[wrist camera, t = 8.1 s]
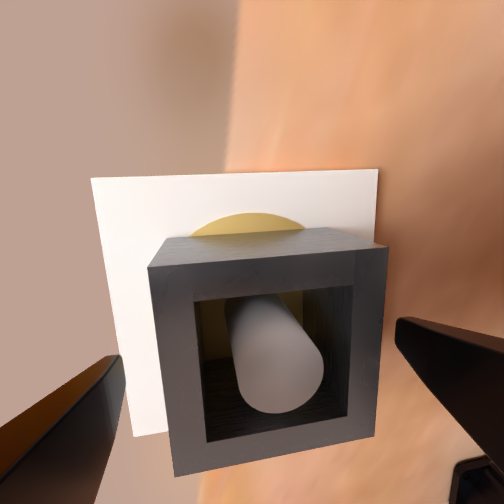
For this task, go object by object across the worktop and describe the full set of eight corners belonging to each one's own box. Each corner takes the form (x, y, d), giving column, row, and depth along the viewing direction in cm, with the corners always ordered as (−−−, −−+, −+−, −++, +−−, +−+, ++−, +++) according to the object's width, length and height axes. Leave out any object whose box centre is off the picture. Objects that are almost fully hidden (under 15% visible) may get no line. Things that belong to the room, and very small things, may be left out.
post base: (353, 382, 15) (436, 488, 10) (138, 418, 13) (97, 572, 8) (364, 170, 12) (485, 157, 7) (100, 178, 11) (2, 170, 5)
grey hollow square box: (323, 363, 13) (374, 436, 9) (182, 384, 12) (174, 477, 8) (326, 227, 12) (388, 246, 8) (166, 238, 10) (147, 267, 7)
